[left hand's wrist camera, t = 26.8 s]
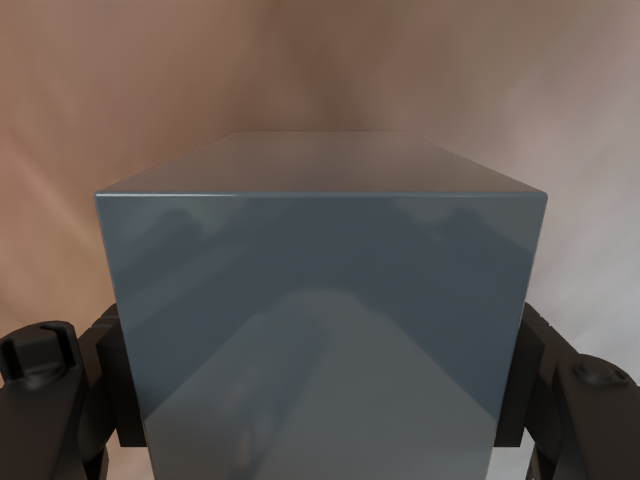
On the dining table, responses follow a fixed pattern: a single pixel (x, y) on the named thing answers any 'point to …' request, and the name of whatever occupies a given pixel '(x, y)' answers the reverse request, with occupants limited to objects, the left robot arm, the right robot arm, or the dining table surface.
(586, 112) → the dining table surface
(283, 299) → the block
